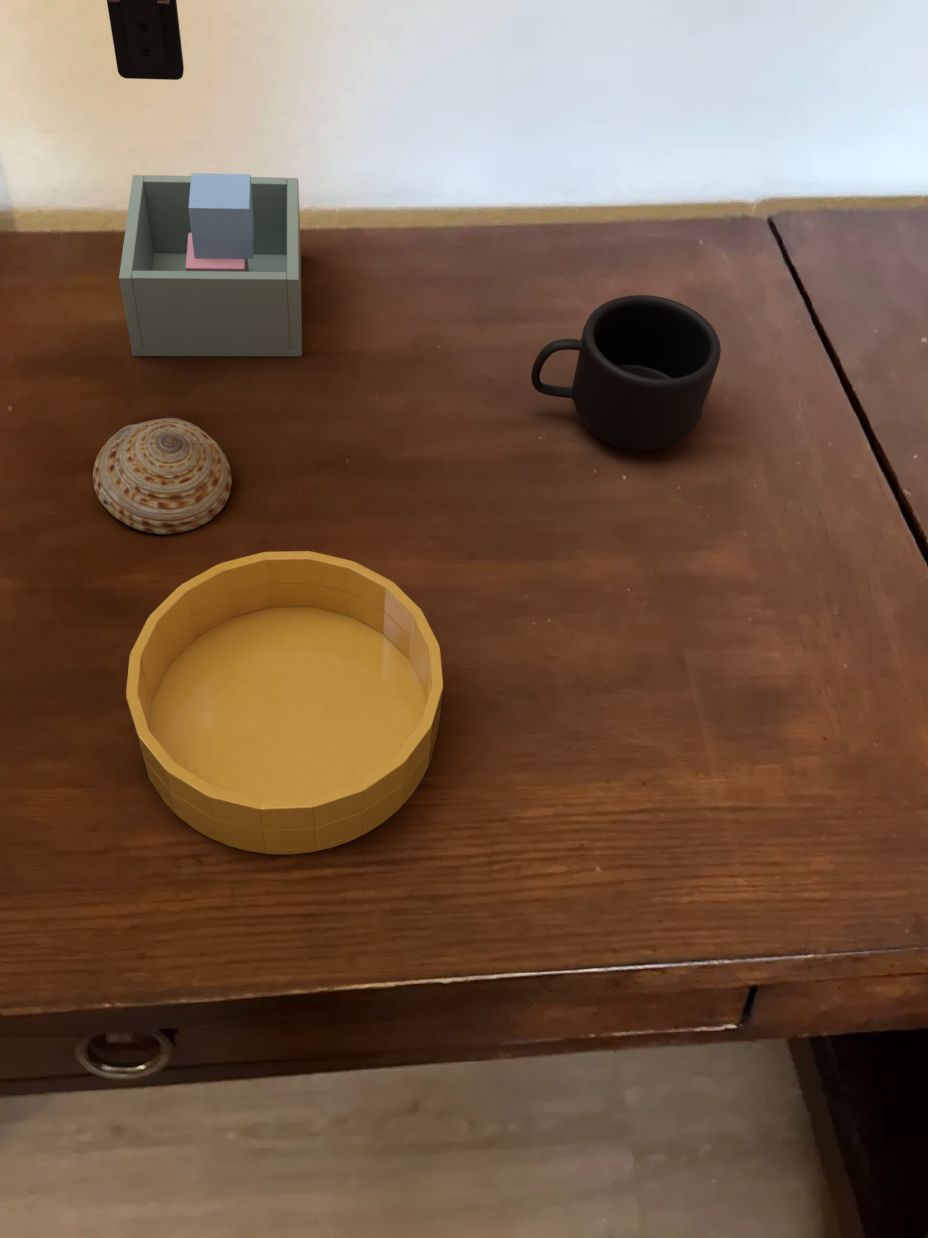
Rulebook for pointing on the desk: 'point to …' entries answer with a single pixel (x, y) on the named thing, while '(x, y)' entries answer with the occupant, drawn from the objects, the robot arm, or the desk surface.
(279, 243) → the bin
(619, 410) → the mug
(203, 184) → the toy blue
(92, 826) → the desk surface
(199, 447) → the seashell
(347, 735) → the bowl
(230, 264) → the toy pink
